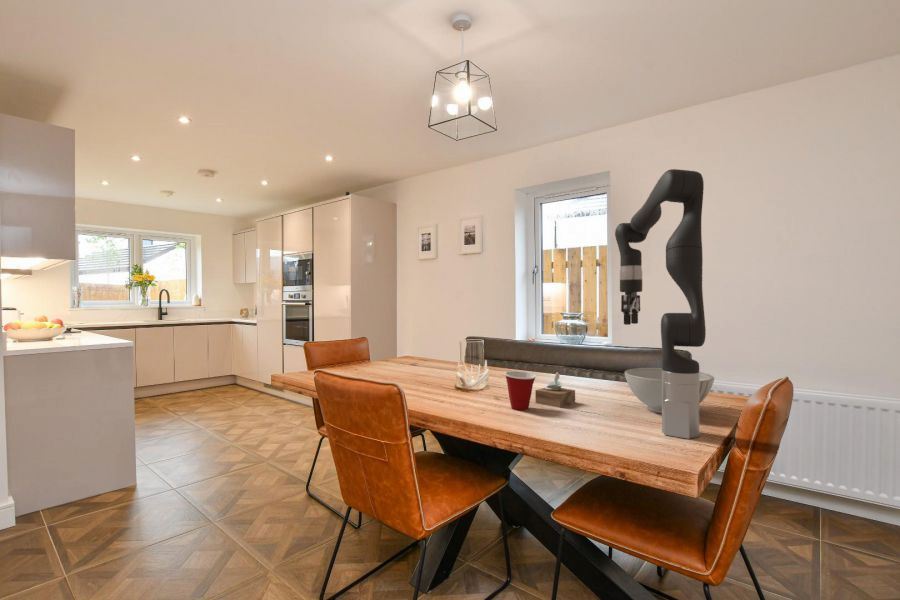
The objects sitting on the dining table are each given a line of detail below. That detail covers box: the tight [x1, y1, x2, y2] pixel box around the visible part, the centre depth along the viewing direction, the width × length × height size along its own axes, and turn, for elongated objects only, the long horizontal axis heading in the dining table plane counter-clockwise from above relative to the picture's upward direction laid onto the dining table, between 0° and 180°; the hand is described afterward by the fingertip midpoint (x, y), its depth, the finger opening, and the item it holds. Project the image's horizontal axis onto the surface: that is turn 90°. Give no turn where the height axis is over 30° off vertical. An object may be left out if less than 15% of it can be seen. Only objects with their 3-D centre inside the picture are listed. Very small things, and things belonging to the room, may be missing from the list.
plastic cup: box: [504, 370, 537, 411], centre depth 153 cm, size 11×11×12 cm
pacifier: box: [544, 371, 563, 390], centre depth 163 cm, size 7×6×6 cm
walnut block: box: [534, 387, 576, 408], centre depth 161 cm, size 10×10×5 cm
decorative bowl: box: [624, 367, 715, 414], centre depth 150 cm, size 27×27×12 cm
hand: (631, 324), depth 162 cm, fingers open, 8 cm apart
